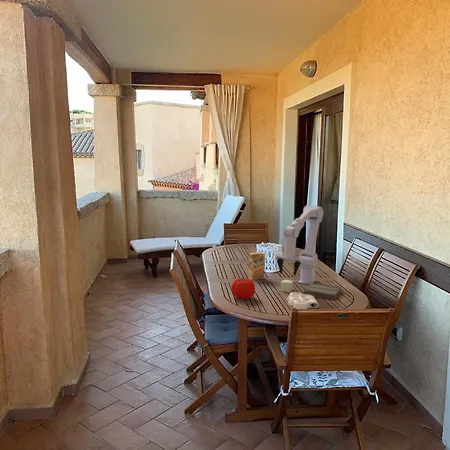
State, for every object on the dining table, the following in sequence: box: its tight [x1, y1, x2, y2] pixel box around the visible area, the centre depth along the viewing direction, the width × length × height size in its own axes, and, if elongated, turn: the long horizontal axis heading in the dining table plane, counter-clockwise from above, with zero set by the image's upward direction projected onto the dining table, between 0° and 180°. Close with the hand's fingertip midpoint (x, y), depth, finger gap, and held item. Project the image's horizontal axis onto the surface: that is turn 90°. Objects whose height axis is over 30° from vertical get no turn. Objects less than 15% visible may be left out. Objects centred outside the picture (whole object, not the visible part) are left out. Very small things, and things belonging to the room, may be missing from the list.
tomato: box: [231, 276, 256, 300], centre depth 204 cm, size 12×12×10 cm
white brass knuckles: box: [285, 291, 320, 310], centre depth 198 cm, size 3×18×15 cm
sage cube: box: [280, 279, 294, 293], centre depth 219 cm, size 5×5×5 cm
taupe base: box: [302, 282, 342, 301], centre depth 215 cm, size 16×16×2 cm
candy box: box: [247, 251, 266, 281], centre depth 240 cm, size 9×4×15 cm, turn 115°
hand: (287, 274), depth 218 cm, fingers open, 7 cm apart
